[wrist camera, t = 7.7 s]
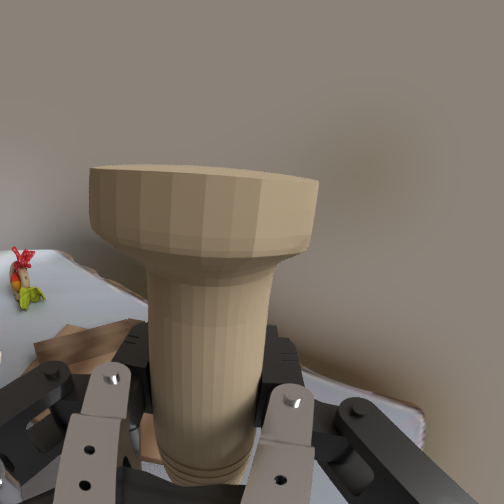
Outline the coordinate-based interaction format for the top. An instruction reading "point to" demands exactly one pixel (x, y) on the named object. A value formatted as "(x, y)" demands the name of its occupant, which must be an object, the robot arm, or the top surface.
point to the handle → (204, 296)
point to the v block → (94, 364)
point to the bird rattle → (23, 280)
